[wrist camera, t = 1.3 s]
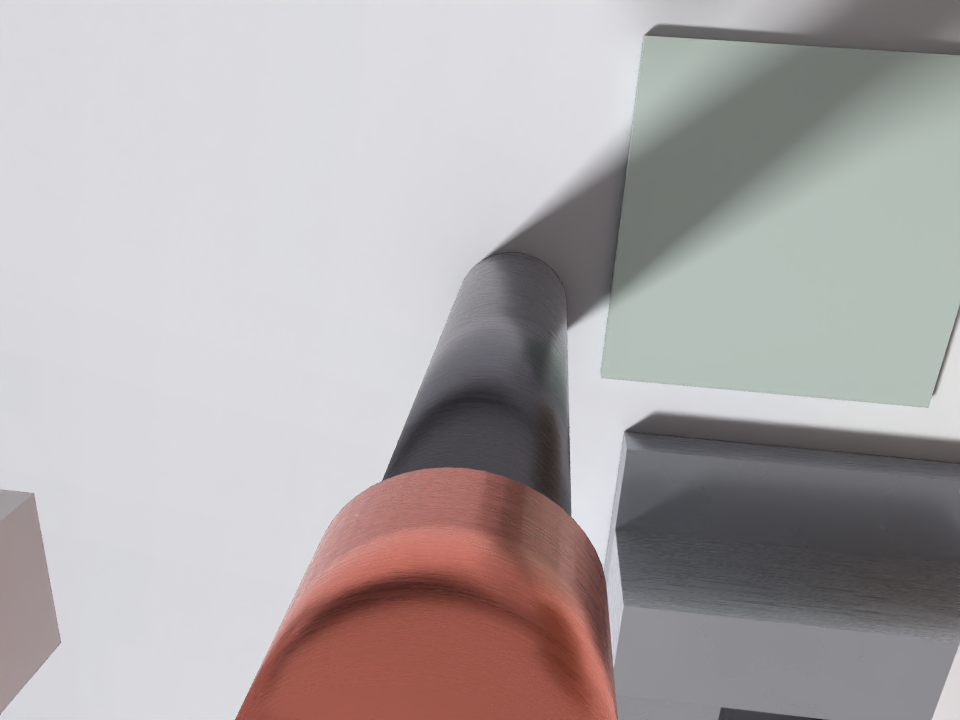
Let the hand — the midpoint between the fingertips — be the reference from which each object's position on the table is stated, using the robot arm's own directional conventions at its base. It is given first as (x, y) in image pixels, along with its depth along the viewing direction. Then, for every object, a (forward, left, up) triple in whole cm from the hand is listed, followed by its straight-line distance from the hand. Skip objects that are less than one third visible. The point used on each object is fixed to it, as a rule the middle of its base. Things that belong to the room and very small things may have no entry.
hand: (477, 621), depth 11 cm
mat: (+8, +3, -15) cm, 17 cm away
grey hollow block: (+10, -12, -15) cm, 21 cm away
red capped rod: (0, 0, -15) cm, 15 cm away
